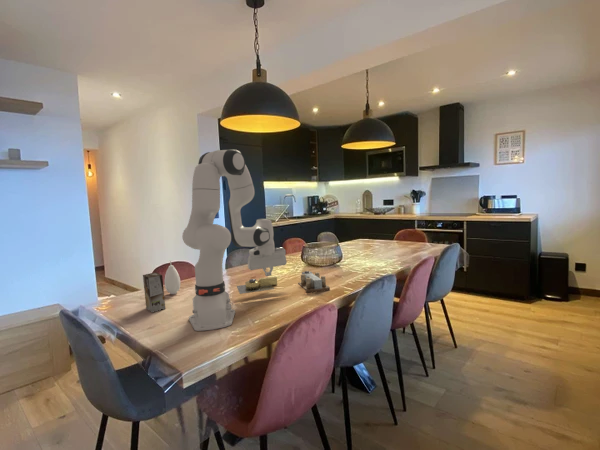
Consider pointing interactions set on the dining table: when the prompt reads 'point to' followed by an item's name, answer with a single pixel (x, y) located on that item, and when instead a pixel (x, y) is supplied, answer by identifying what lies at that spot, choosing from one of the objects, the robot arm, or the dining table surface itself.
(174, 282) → the white teardrop candle
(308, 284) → the cradle
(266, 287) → the dial base
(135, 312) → the dining table surface
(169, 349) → the dining table surface
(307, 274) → the grey rectangular bar
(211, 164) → the robot arm
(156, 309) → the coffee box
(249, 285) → the khaki elongated piece
